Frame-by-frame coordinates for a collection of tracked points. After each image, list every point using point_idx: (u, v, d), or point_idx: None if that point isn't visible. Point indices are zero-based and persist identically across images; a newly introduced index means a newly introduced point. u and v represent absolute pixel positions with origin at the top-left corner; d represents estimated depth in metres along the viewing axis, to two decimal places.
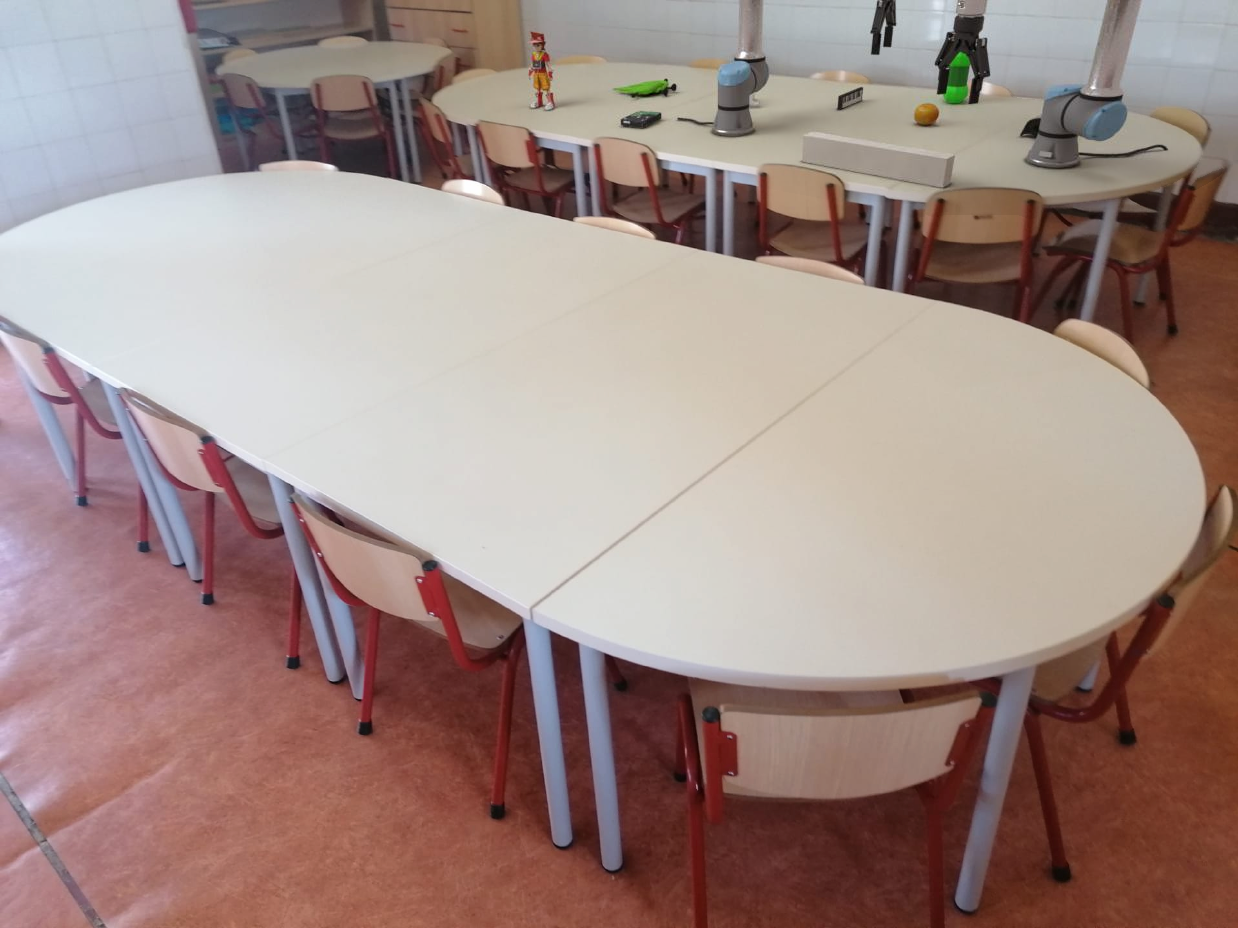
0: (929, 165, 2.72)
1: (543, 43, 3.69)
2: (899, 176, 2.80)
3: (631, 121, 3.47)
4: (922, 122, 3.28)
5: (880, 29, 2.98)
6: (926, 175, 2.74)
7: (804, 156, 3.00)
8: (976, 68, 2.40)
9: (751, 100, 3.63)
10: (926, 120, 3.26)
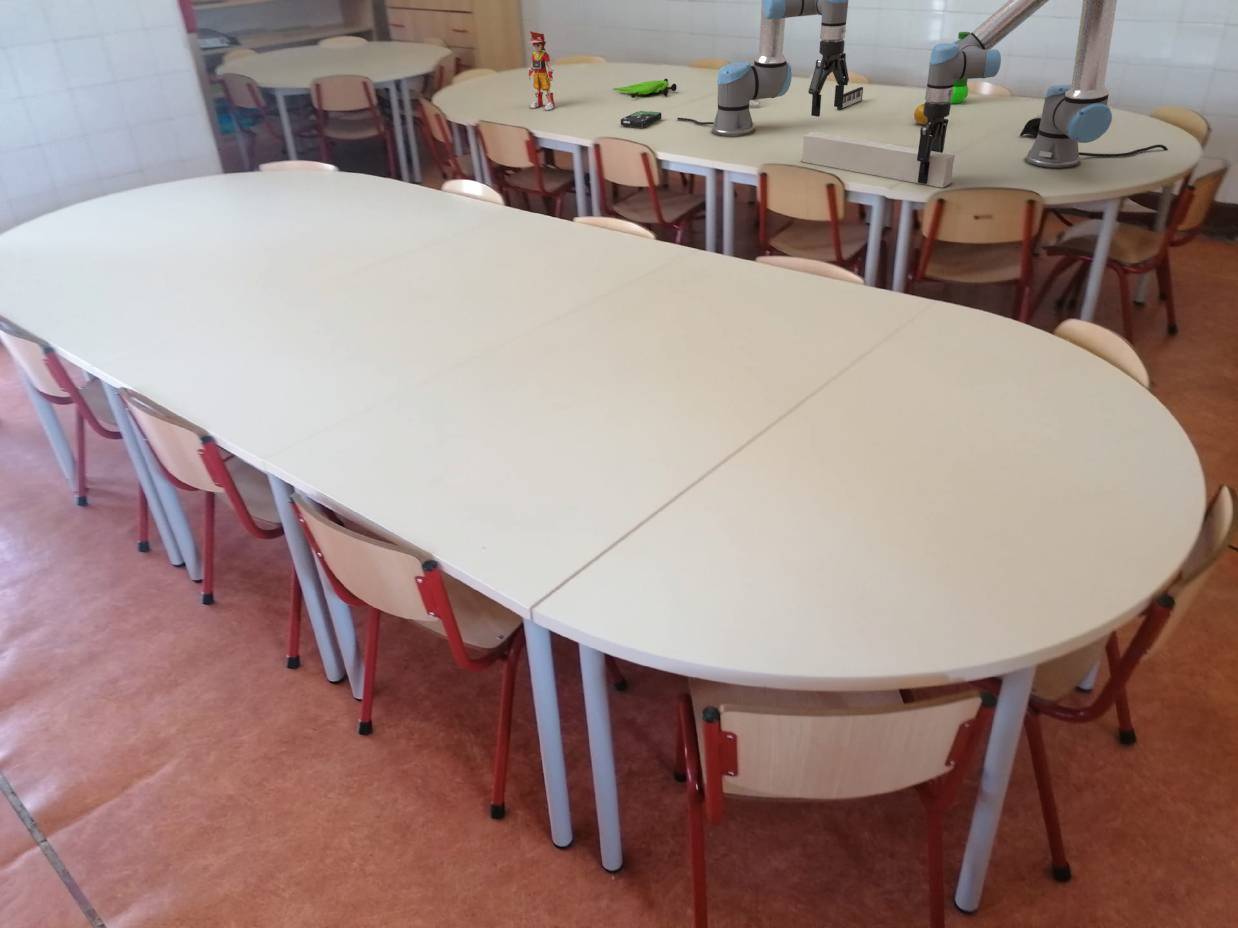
0: (929, 165, 2.72)
1: (543, 43, 3.69)
2: (899, 176, 2.80)
3: (631, 121, 3.47)
4: (922, 122, 3.28)
5: (819, 90, 2.80)
6: None
7: (804, 156, 3.00)
8: None
9: (751, 100, 3.63)
10: (926, 120, 3.26)
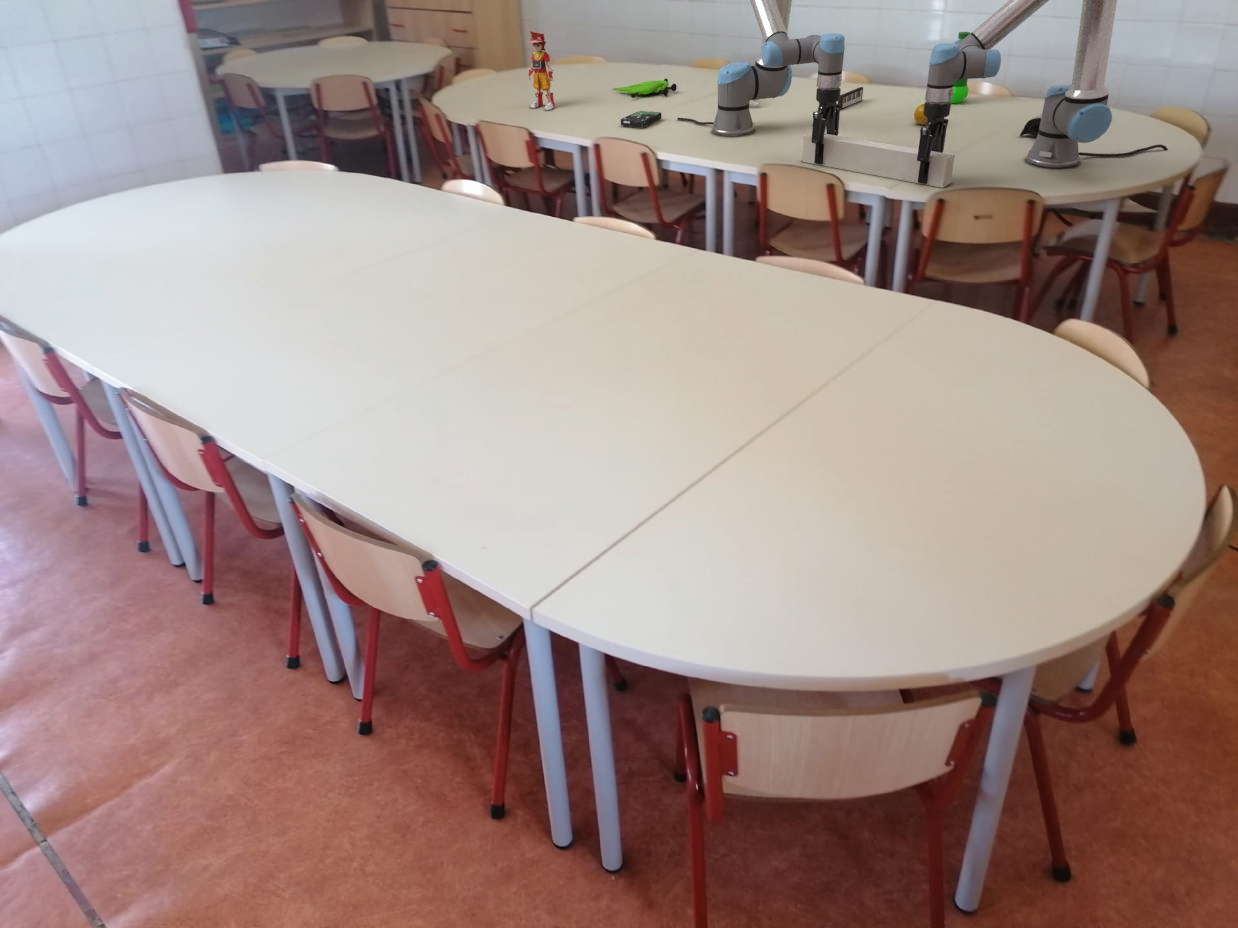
0: (929, 165, 2.72)
1: (543, 43, 3.69)
2: (899, 176, 2.80)
3: (631, 121, 3.47)
4: (922, 122, 3.28)
5: (821, 140, 2.91)
6: None
7: (804, 156, 3.00)
8: None
9: (751, 100, 3.63)
10: (926, 120, 3.26)
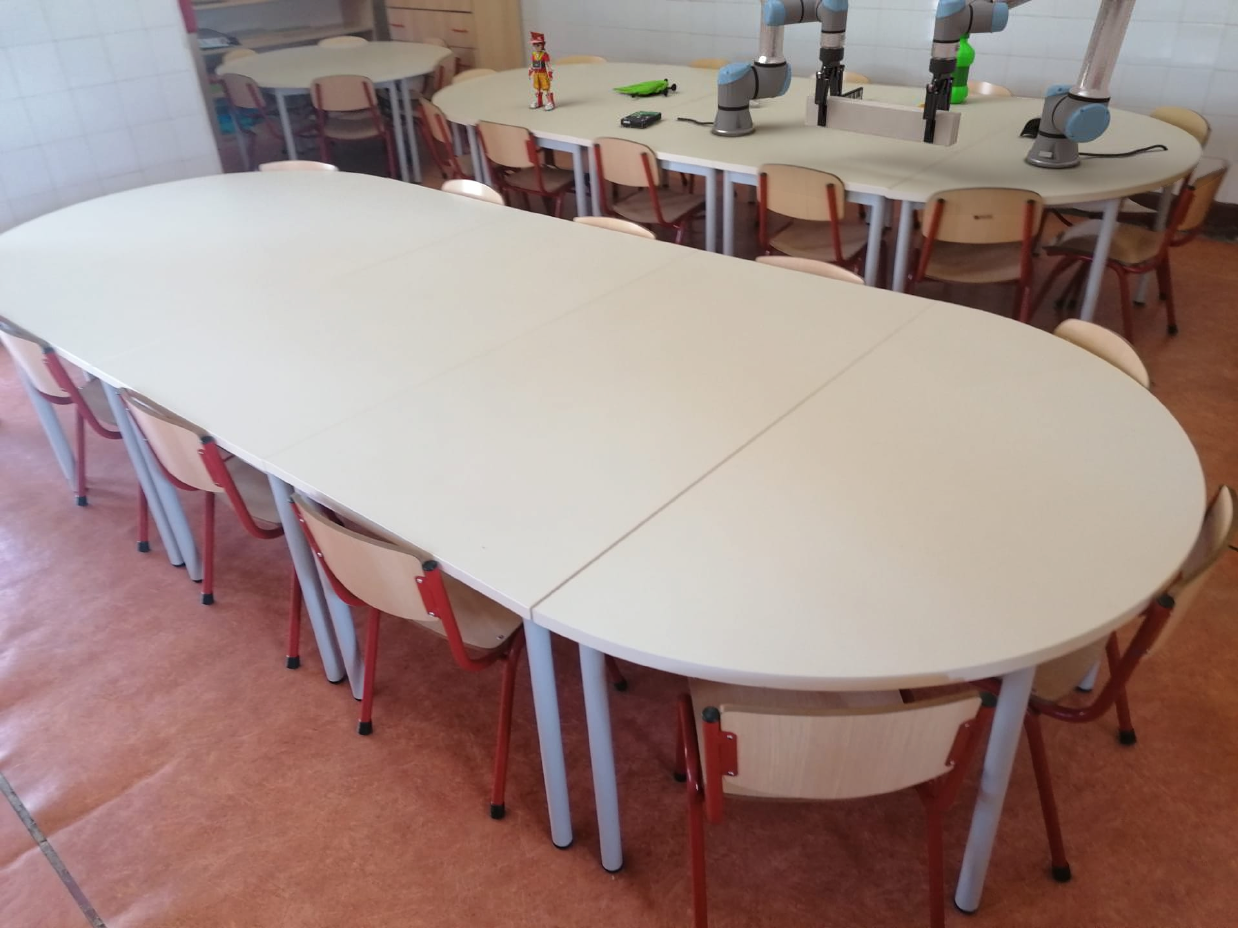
0: (935, 124, 2.66)
1: (543, 43, 3.69)
2: (905, 137, 2.75)
3: (631, 121, 3.47)
4: None
5: (824, 101, 2.85)
6: None
7: (807, 119, 2.94)
8: None
9: (751, 100, 3.63)
10: None
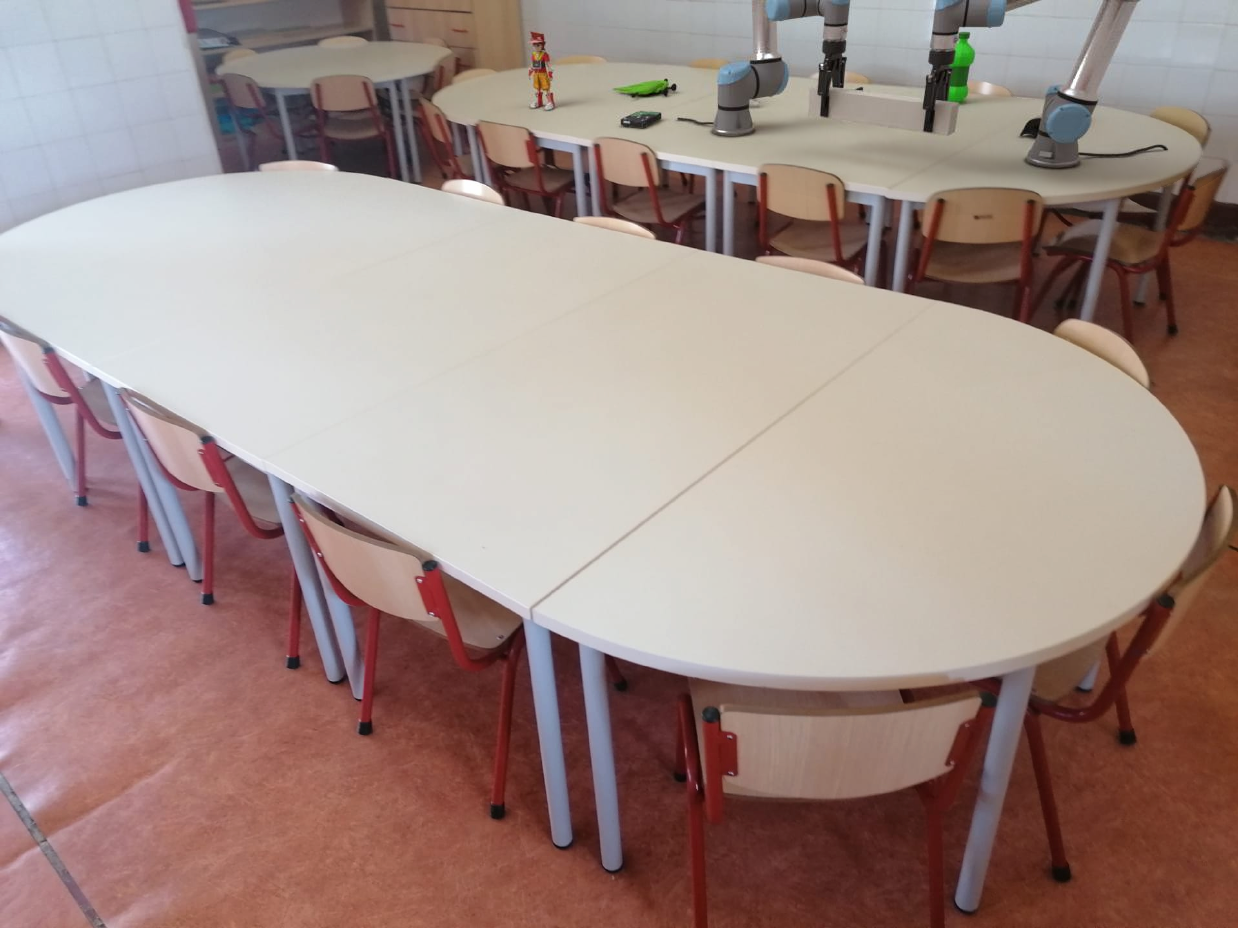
0: None
1: (543, 43, 3.69)
2: (905, 126, 2.84)
3: (631, 121, 3.47)
4: None
5: (826, 92, 2.95)
6: None
7: (810, 110, 3.04)
8: None
9: (751, 100, 3.63)
10: None
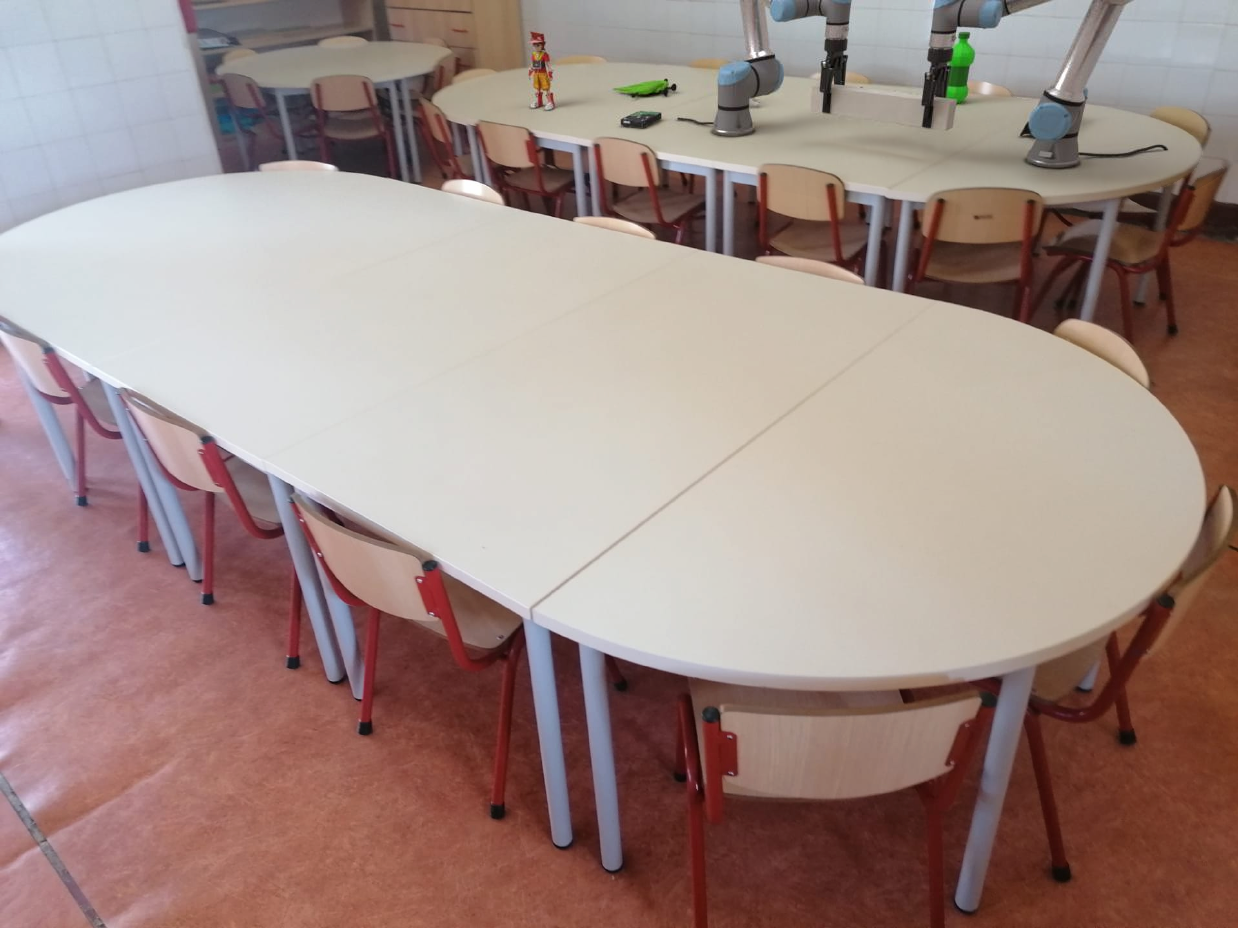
0: None
1: (543, 43, 3.69)
2: (904, 122, 2.93)
3: (631, 121, 3.47)
4: None
5: (828, 89, 3.04)
6: None
7: (812, 106, 3.13)
8: None
9: (751, 100, 3.63)
10: None
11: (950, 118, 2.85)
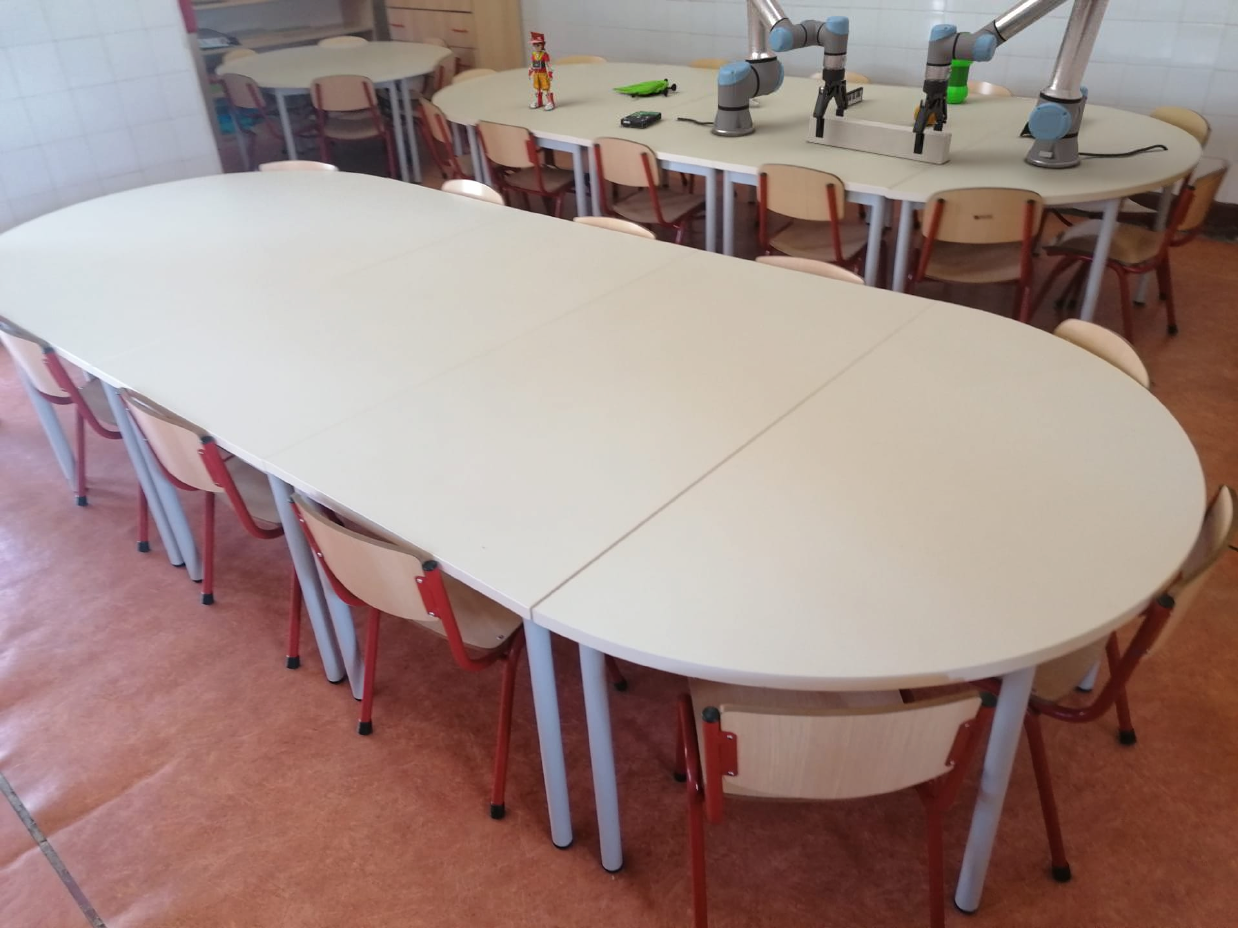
0: (928, 143, 2.91)
1: (543, 43, 3.69)
2: (900, 154, 2.99)
3: (631, 121, 3.47)
4: None
5: (822, 114, 3.06)
6: (925, 153, 2.93)
7: (810, 136, 3.19)
8: None
9: (751, 100, 3.63)
10: None
11: (945, 151, 2.91)
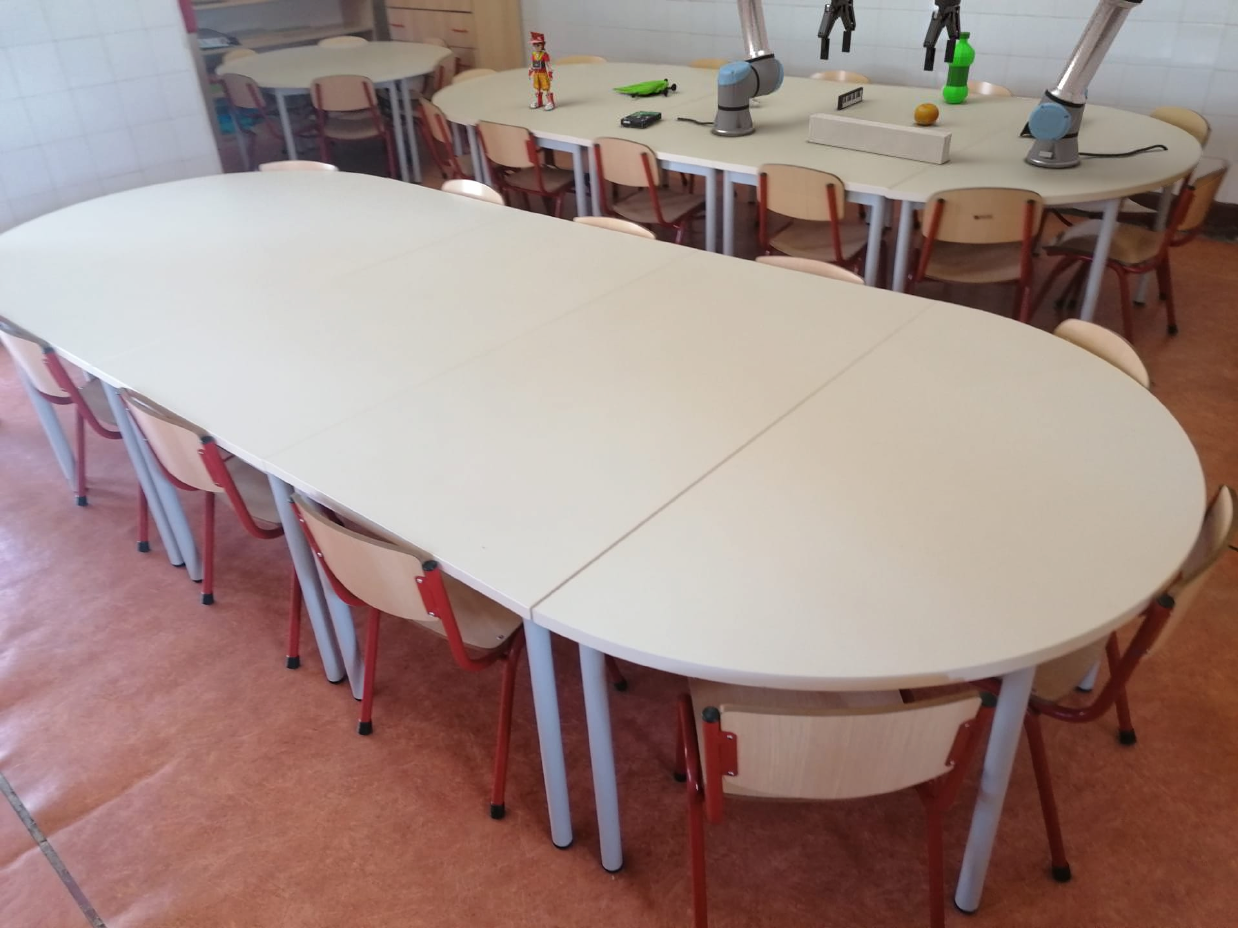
0: (928, 143, 2.91)
1: (543, 43, 3.69)
2: (900, 154, 2.99)
3: (631, 121, 3.47)
4: (922, 122, 3.28)
5: (827, 34, 2.92)
6: (925, 153, 2.93)
7: (810, 136, 3.19)
8: None
9: (751, 100, 3.63)
10: (926, 120, 3.26)
11: (945, 151, 2.91)
